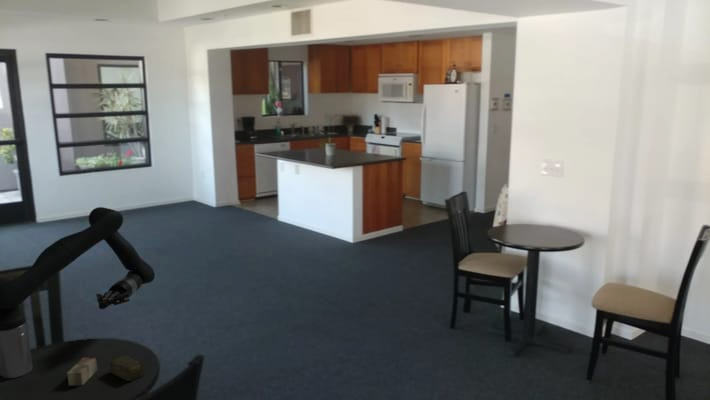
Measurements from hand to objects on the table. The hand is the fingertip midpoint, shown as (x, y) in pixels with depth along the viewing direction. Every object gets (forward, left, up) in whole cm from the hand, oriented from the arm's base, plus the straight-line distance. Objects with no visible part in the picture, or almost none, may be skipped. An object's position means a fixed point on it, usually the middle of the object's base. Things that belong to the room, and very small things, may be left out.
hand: (101, 306), depth 199 cm
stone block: (+14, -15, -18) cm, 28 cm away
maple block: (0, -12, -16) cm, 20 cm away
